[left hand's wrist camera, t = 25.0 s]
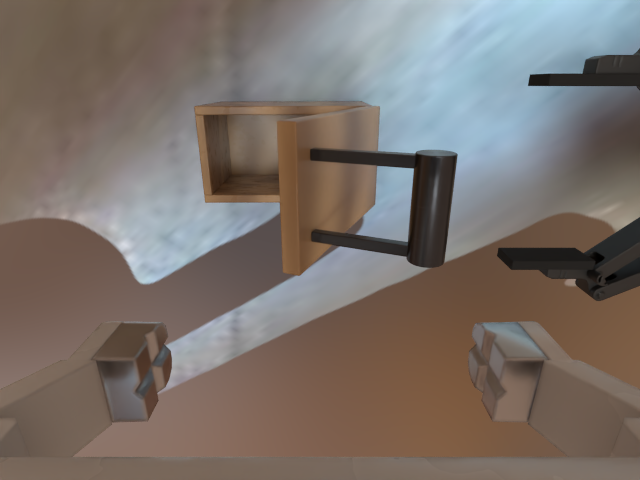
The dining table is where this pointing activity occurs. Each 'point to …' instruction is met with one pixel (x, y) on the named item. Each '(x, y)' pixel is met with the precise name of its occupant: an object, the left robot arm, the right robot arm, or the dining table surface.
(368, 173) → the lid
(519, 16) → the dining table surface
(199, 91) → the dining table surface
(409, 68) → the dining table surface
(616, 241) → the right robot arm
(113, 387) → the left robot arm
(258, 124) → the chest
